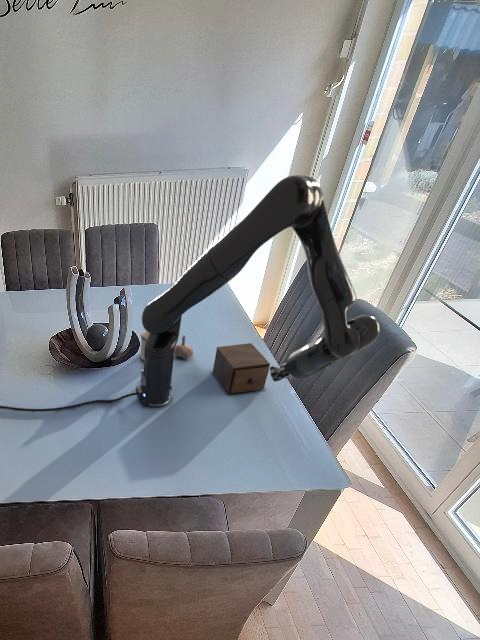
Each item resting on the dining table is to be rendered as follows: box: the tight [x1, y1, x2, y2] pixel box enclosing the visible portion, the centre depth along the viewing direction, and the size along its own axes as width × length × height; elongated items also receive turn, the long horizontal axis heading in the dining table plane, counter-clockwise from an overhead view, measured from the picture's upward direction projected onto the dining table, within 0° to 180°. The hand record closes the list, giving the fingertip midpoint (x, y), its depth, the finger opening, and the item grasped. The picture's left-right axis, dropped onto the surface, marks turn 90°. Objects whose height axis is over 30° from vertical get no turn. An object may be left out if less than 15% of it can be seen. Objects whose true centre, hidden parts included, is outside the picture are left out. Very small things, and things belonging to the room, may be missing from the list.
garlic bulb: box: [174, 334, 194, 360], centre depth 169 cm, size 8×7×8 cm
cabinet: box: [212, 342, 271, 395], centre depth 156 cm, size 15×13×10 cm
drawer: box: [230, 366, 270, 394], centre depth 154 cm, size 15×11×8 cm
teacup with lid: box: [140, 329, 150, 361], centre depth 168 cm, size 12×9×12 cm
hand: (275, 377), depth 135 cm, fingers closed
